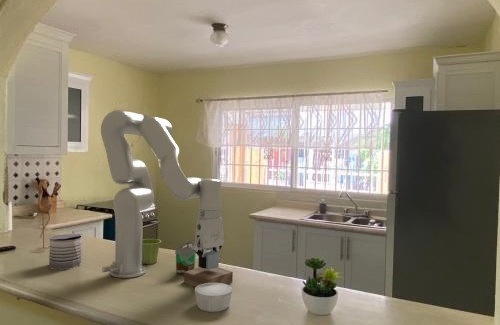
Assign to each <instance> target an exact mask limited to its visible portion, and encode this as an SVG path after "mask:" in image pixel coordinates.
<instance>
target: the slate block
mask: <svg viewBox="0 0 500 325" xmlns="http://www.w3.org/2000/svg"><path fill="white" fill-rule="evenodd" d="M205 257H206V268H205V269H207V270H209V269H213V268H216V267H218V268H220V266H219V264H220V263H219V262H220V253H218V252H215V251H212V249H207V250H206V254H205ZM197 261H198V265H197V266H198V267H197V268H199V256H198V260H197Z"/></svg>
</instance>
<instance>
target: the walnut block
mask: <svg viewBox="0 0 500 325" xmlns="http://www.w3.org/2000/svg"><path fill="white" fill-rule="evenodd" d="M233 274H234V272H233V271H231V270H228V269H225V268H222V267H216V268H213V269H209V270H207V269H204V268H201V267H196V268H194V269H192V270H189V271H185V272H184V274H183V283H186V284H187V285H191V286H194V287H195V288H196V287H197V286H198V285H201V284H205V283H223V284H227V285H229V284H230V283H233Z"/></svg>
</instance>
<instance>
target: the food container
mask: <svg viewBox="0 0 500 325" xmlns="http://www.w3.org/2000/svg"><path fill="white" fill-rule="evenodd" d="M194 243H195V241H186V243H185V244H183V245H182V246H181V247H175V251H174V252H175V253H174V254H175V270H176V271H175V272H176V275H184V272H185V271H189V270H192V269H195V266H196V255H197V253H196V252H195V251H194V250H192V246H193V245H194Z"/></svg>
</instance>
